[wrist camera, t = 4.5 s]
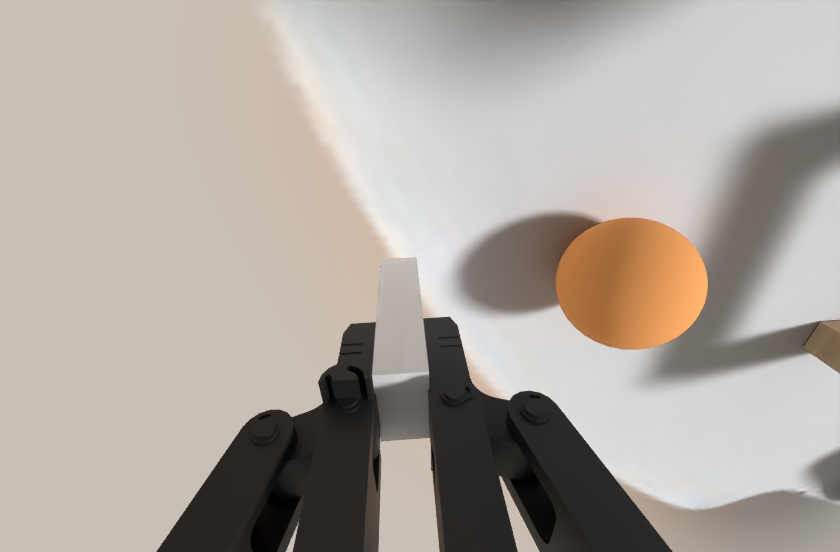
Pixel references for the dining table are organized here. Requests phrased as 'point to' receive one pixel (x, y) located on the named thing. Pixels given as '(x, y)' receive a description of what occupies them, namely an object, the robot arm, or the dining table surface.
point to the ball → (631, 283)
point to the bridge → (826, 343)
